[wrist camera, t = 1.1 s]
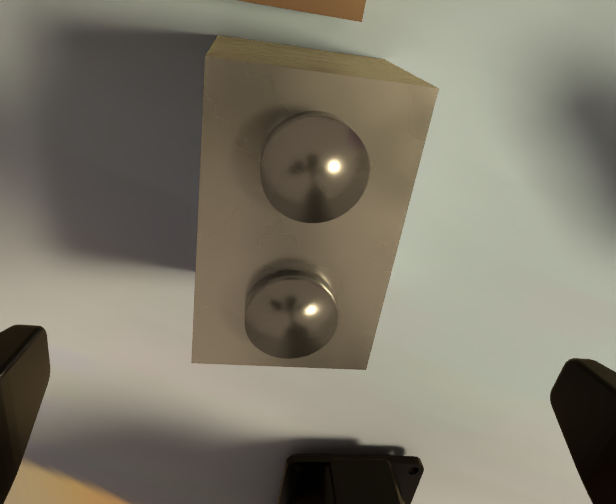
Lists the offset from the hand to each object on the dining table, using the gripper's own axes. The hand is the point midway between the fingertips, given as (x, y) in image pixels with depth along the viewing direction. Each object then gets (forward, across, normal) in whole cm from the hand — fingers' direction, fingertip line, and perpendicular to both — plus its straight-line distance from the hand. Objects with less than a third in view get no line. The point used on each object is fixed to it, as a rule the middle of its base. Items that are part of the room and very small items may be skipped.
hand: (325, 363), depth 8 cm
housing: (+9, 0, 0) cm, 9 cm away
